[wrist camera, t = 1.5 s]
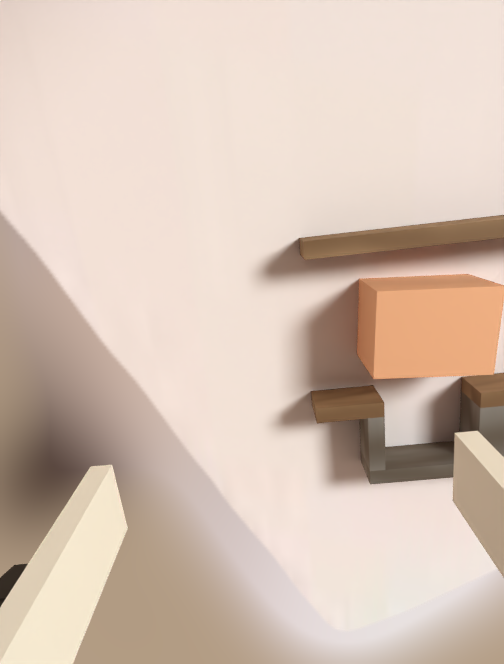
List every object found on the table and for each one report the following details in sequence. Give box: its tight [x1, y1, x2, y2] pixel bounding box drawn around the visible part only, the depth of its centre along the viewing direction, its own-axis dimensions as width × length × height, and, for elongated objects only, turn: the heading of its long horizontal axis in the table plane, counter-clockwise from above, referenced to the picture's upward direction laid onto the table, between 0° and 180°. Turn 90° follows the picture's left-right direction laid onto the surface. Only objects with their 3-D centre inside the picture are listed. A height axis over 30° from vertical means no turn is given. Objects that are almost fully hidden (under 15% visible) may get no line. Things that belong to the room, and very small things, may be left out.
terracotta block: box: [357, 274, 504, 379], centre depth 29 cm, size 6×8×5 cm
